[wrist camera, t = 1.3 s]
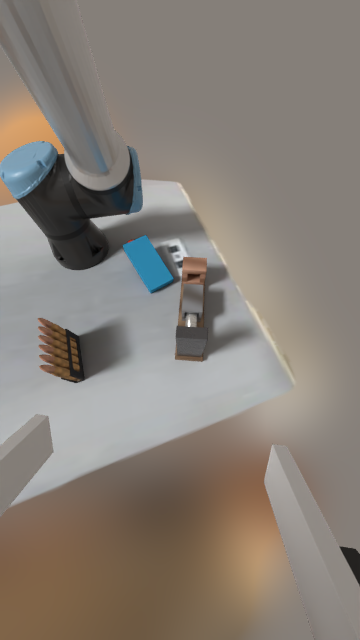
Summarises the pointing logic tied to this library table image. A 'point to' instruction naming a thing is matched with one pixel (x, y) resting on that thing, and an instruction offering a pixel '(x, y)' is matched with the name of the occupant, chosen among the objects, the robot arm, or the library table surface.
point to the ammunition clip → (61, 352)
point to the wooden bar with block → (192, 295)
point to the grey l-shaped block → (191, 337)
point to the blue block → (148, 263)
